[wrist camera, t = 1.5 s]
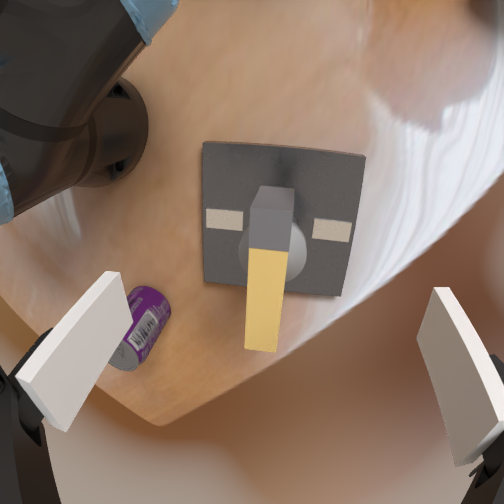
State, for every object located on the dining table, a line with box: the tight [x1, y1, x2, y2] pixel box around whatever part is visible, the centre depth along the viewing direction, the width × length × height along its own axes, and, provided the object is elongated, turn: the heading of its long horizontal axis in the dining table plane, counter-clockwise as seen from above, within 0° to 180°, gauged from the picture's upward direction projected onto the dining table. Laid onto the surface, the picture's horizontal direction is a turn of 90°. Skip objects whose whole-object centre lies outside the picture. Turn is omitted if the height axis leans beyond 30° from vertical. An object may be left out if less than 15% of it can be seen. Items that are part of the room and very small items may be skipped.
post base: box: [202, 141, 366, 297], centre depth 34 cm, size 18×18×7 cm
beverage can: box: [108, 286, 171, 371], centre depth 41 cm, size 7×7×12 cm
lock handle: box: [238, 186, 307, 353], centre depth 27 cm, size 6×13×8 cm, turn 177°
